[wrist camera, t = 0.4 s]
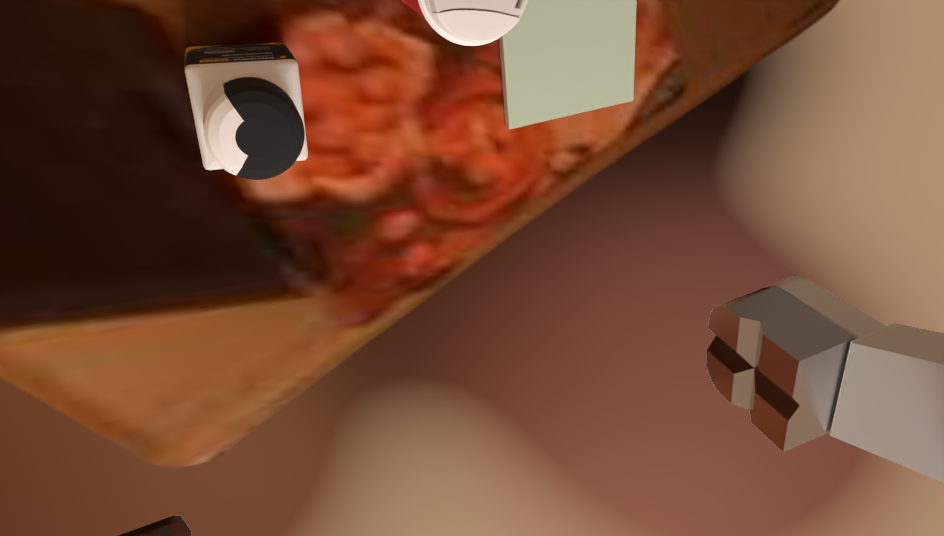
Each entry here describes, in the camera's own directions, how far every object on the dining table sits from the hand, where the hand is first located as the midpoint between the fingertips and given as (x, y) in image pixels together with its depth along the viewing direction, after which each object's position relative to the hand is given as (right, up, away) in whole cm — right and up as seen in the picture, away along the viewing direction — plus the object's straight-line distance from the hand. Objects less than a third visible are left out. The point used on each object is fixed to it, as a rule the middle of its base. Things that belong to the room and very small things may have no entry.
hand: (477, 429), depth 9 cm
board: (+8, +23, +48) cm, 54 cm away
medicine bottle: (-18, +16, +40) cm, 47 cm away
